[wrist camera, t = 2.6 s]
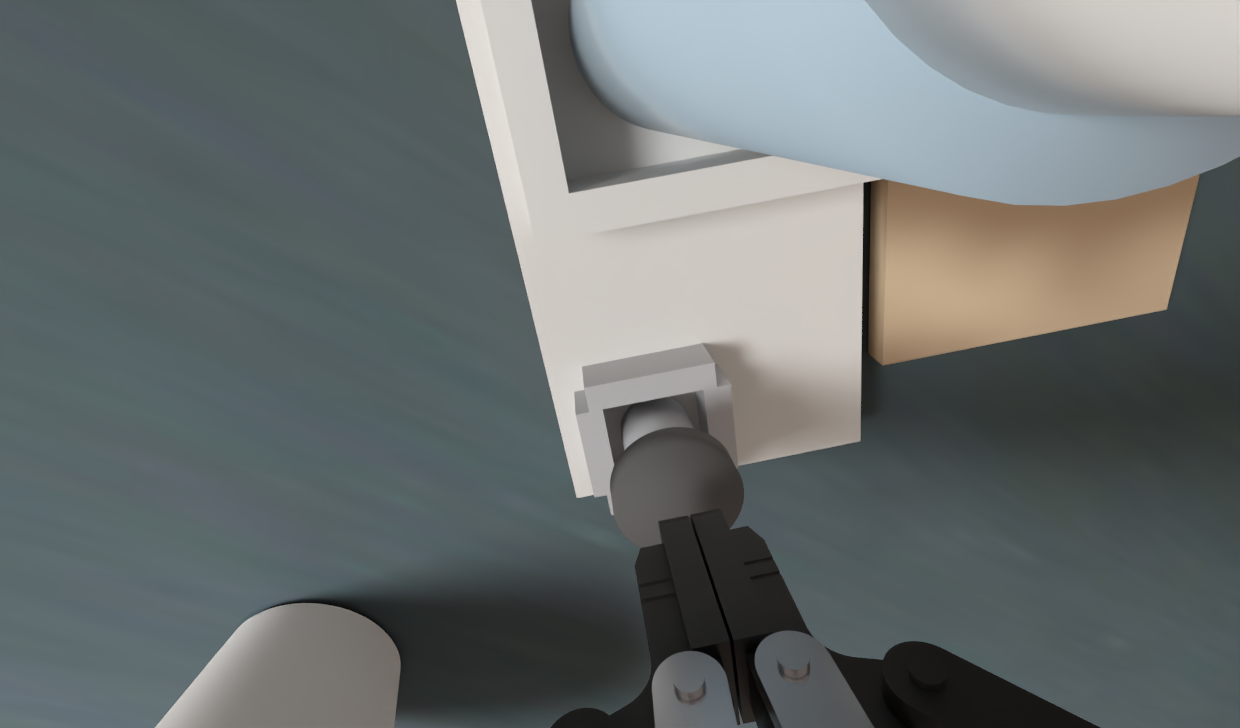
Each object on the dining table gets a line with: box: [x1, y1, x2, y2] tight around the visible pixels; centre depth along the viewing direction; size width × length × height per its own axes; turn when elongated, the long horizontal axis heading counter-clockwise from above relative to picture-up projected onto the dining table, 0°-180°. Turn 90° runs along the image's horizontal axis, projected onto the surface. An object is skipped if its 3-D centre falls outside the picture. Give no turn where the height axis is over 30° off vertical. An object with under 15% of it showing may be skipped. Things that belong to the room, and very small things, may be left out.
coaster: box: [868, 174, 1200, 365], centre depth 18 cm, size 10×10×1 cm
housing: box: [456, 0, 881, 515], centre depth 16 cm, size 18×10×4 cm, turn 9°
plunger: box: [610, 397, 744, 548], centre depth 17 cm, size 3×3×4 cm
